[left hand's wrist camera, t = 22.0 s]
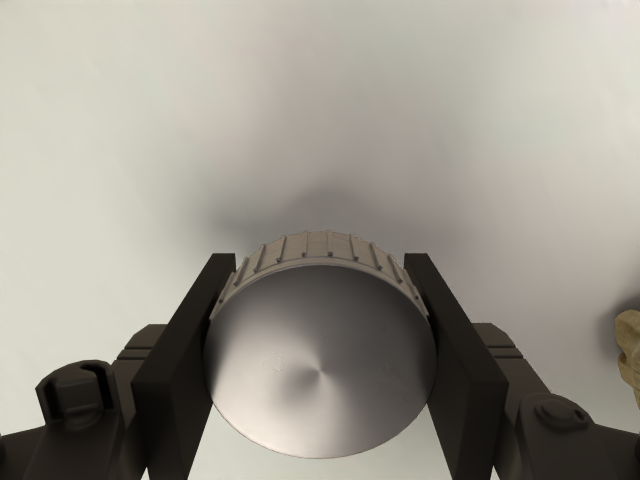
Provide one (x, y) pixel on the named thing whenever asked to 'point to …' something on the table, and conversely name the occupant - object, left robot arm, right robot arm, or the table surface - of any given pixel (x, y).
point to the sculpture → (629, 348)
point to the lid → (319, 347)
